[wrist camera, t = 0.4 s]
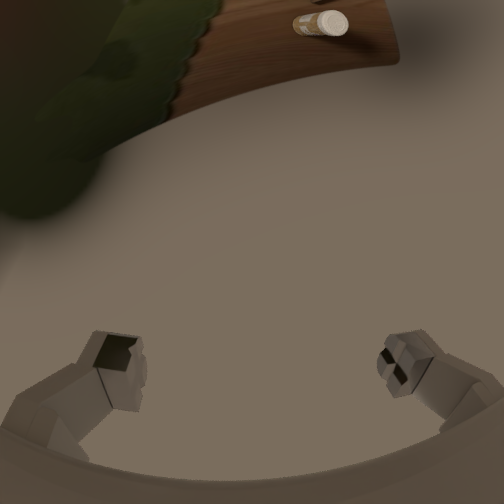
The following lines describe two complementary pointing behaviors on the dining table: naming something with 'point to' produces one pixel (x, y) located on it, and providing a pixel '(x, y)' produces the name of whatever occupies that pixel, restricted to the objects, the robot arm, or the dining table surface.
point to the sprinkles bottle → (321, 24)
